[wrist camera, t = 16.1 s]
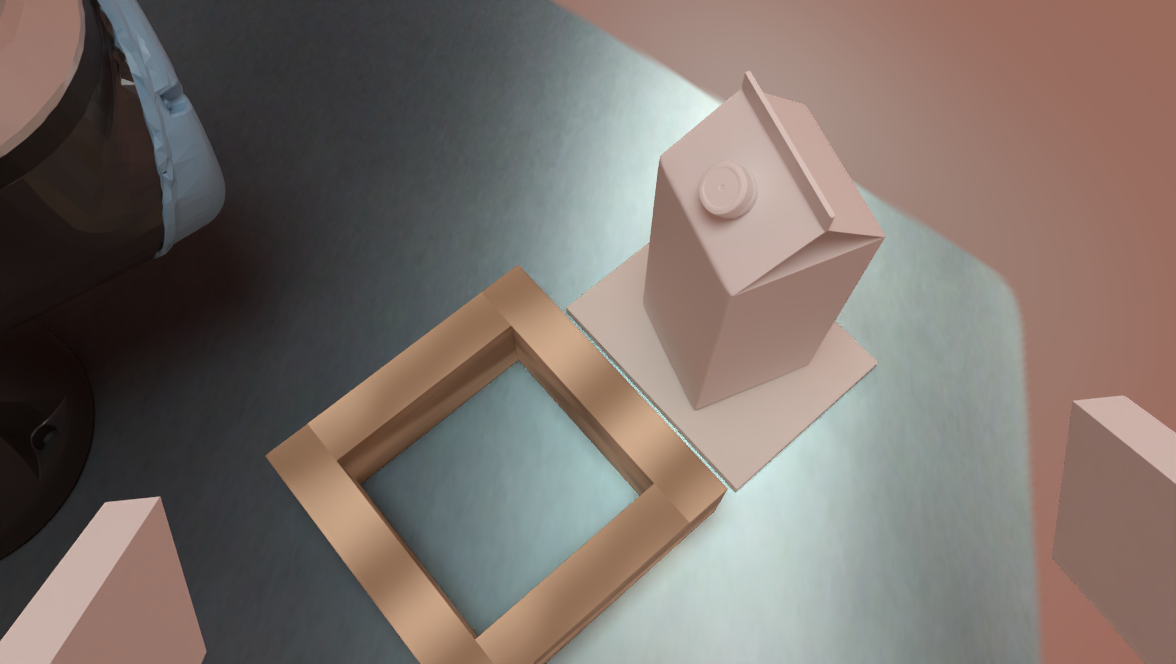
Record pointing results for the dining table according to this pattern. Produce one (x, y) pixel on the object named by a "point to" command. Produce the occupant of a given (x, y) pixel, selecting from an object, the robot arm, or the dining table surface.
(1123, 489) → the robot arm
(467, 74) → the dining table surface
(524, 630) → the frame
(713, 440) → the pink mat
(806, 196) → the milk carton
